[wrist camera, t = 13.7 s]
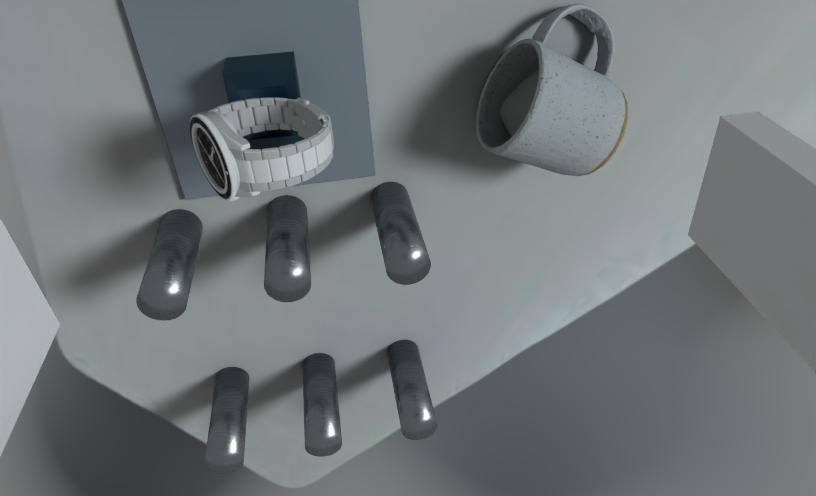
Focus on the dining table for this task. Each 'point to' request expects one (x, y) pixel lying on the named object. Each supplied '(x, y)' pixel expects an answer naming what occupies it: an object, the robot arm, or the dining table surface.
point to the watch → (261, 129)
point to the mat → (253, 35)
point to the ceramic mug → (554, 102)
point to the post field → (288, 283)
